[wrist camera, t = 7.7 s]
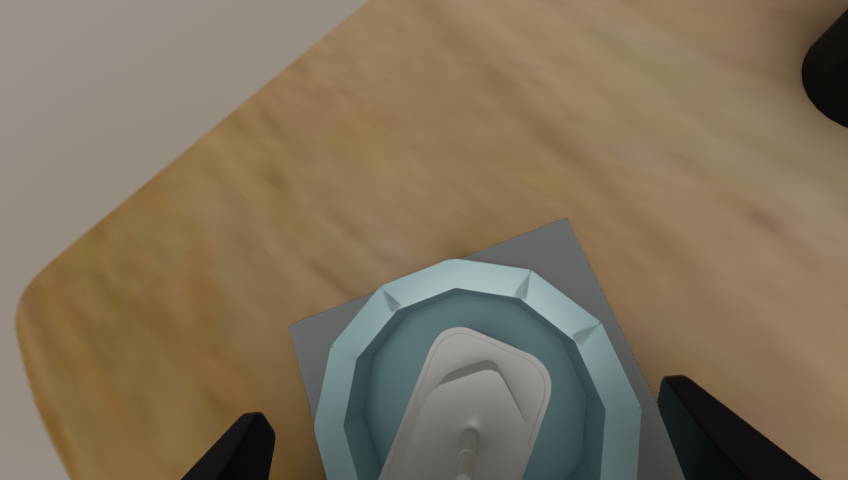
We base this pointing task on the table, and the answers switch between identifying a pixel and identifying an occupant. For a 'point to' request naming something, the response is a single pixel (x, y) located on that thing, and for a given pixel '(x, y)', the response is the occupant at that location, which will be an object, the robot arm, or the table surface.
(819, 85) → the cup
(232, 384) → the table surface
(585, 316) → the bowl
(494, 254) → the mat
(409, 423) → the power adapter
